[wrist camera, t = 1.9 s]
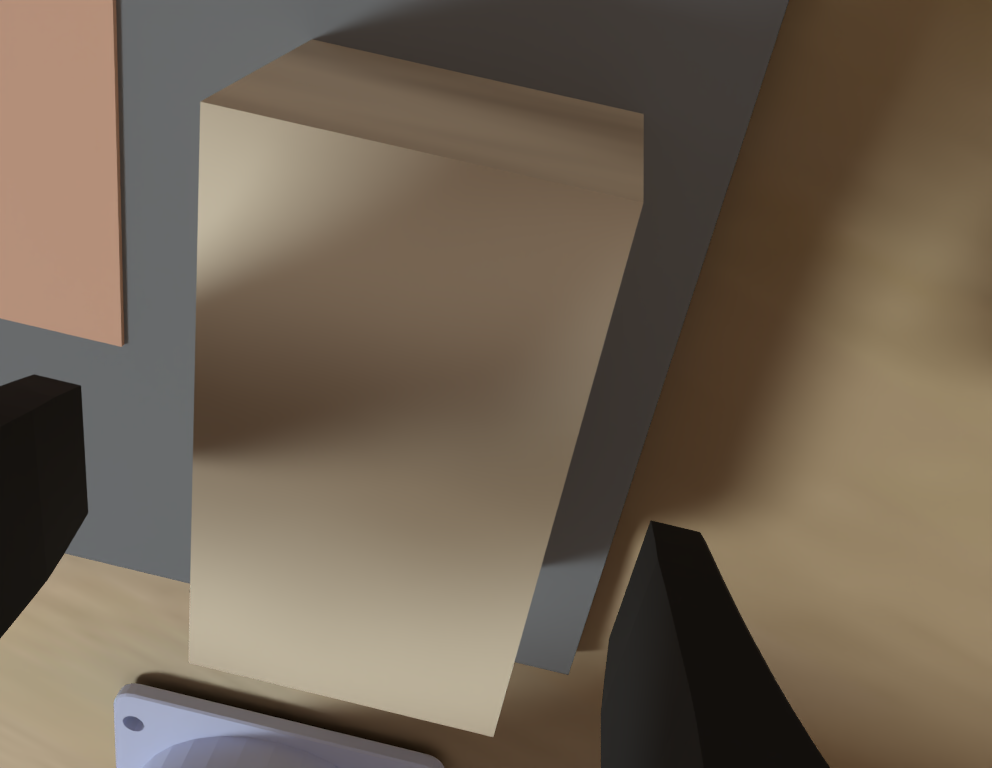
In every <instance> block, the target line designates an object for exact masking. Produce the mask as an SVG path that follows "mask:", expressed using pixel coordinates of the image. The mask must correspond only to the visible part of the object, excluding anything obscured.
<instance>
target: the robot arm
mask: <svg viewBox="0 0 992 768" xmlns="http://www.w3.org/2000/svg"><path fill="white" fill-rule="evenodd" d="M87 515H88V498H87V480H86V463H85V445H84V427H83V410H82V392H81V385H77V384H73V383H69V382H64V381H60V380H56V379H52V378H48V377H43V376H39V375H35V374H34V375H31V376H27V377H24V378H21V379H18V380H15V381H13V382H10V383H7V384H4V385H2V386H0V638H1V637H2V636H3V634H4V633H5V632H6V631H7V630H8V628H9V627H10V626H11V625H12V623H13V622H14V621H15V620H16V618H17V617H18V616H19V615H20V614H21V612H22V611H23V610H24V609H25V607H26V606H27V605H28V604H29V602H30V601H31V600H32V599H33V597H34V596H35V595H36V594H37V592H38V591H39V590H40V589H41V587H42V586H43V585H44V584H45V582H46V581H47V580H48V578H49V577H50V575H51V574H52V572H53V570H54V569H55V567H56V566H57V564H58V563H59V561H60V559H61V558H62V556H63V555H64V553H65V552H66V550H67V548H68V547H69V545H70V543H71V542H72V540H73V538H74V537H75V535H76V533H77V531H78V530H79V528H80V526H81V525H82V523H83V521H84V520H85V518H86V516H87ZM114 723H115V748H116V768H444V766H443V764H442V763H441V762H440V761H439V760H438V759H437V758H435V757H433V756H431V755H428V754H425V753H421V752H416V751H412V750H408V749H404V748H400V747H396V746H392V745H388V744H384V743H380V742H376V741H372V740H367V739H363V738H359V737H355V736H351V735H347V734H343V733H339V732H335V731H331V730H327V729H322V728H318V727H314V726H310V725H306V724H302V723H298V722H294V721H290V720H286V719H282V718H278V717H273V716H269V715H265V714H261V713H257V712H253V711H249V710H245V709H241V708H237V707H233V706H228V705H224V704H220V703H216V702H212V701H208V700H204V699H200V698H196V697H192V696H188V695H184V694H179V693H175V692H171V691H167V690H163V689H159V688H155V687H151V686H147V685H143V684H136V683H132V684H127V685H125V686H124V687H122V688H121V690H120V691H119V693H118V694H117V696H116V698H115V700H114ZM601 768H830V767H829V766H828V764H827V763H826V761H825V760H824V758H823V757H822V755H821V754H820V752H819V751H818V749H817V748H816V746H815V744H814V743H813V741H812V740H811V738H810V736H809V735H808V733H807V732H806V730H805V728H804V727H803V725H802V724H801V722H800V720H799V719H798V717H797V716H796V714H795V712H794V711H793V709H792V707H791V706H790V704H789V702H788V701H787V699H786V697H785V696H784V694H783V692H782V690H781V689H780V687H779V685H778V684H777V682H776V680H775V678H774V676H773V675H772V673H771V671H770V669H769V667H768V665H767V664H766V662H765V660H764V658H763V656H762V655H761V653H760V651H759V649H758V647H757V645H756V644H755V642H754V640H753V638H752V636H751V634H750V632H749V630H748V628H747V627H746V625H745V623H744V621H743V619H742V617H741V615H740V613H739V611H738V609H737V607H736V605H735V603H734V601H733V599H732V597H731V595H730V593H729V590H728V588H727V586H726V584H725V582H724V580H723V578H722V576H721V574H720V571H719V569H718V567H717V565H716V563H715V561H714V559H713V556H712V554H711V552H710V550H709V548H708V546H707V544H706V541H705V540H704V538H703V536H702V535H701V533H700V532H697V531H693V530H689V529H684V528H680V527H676V526H672V525H668V524H663V523H659V522H655V521H650V524H649V527H648V530H647V532H646V535H645V538H644V541H643V544H642V547H641V550H640V552H639V555H638V558H637V561H636V564H635V567H634V569H633V572H632V575H631V578H630V581H629V584H628V586H627V589H626V592H625V595H624V598H623V601H622V604H621V606H620V609H619V612H618V615H617V618H616V621H615V623H614V626H613V629H612V632H611V635H610V638H609V645H608V653H607V662H606V670H605V679H604V689H603V699H602V708H601Z"/></svg>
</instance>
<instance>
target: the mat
mask: <svg viewBox="0 0 992 768" xmlns="http://www.w3.org/2000/svg"><path fill="white" fill-rule="evenodd" d="M788 2H789V0H0V386H2V385H4V384H7V383H10V382H13V381H15V380H18V379H21V378H24V377H27V376H31V375H34V374H35V375H39V376H43V377H48V378H52V379H56V380H60V381H64V382H69V383H73V384H77V385H81V392H82V410H83V427H84V445H85V463H86V480H87V498H88V515H87V516H86V518H85V520H84V521H83V523H82V525H81V526H80V528H79V530H78V531H77V533H76V535H75V537H74V538H73V540H72V542H71V543H70V545H69V547H68V548H67V550H66V552H65V553H66V554H70V555H74V556H78V557H82V558H86V559H90V560H95V561H99V562H103V563H107V564H111V565H115V566H119V567H124V568H128V569H132V570H136V571H140V572H144V573H148V574H153V575H157V576H161V577H165V578H169V579H173V580H177V581H182V582H186V583H190V568H191V520H192V473H193V425H194V378H195V330H196V283H197V235H198V188H199V140H200V101H202V100H204V99H206V98H208V97H209V96H211V95H213V94H215V93H217V92H218V91H220V90H222V89H224V88H226V87H227V86H229V85H231V84H233V83H235V82H236V81H238V80H240V79H242V78H243V77H245V76H247V75H249V74H251V73H252V72H254V71H256V70H258V69H260V68H261V67H263V66H265V65H267V64H269V63H270V62H272V61H274V60H276V59H278V58H279V57H281V56H283V55H285V54H287V53H288V52H290V51H292V50H294V49H295V48H297V47H299V46H301V45H303V44H304V43H306V42H308V41H310V40H312V39H313V40H317V41H322V42H326V43H331V44H335V45H340V46H344V47H348V48H353V49H357V50H362V51H366V52H371V53H375V54H380V55H384V56H388V57H393V58H397V59H402V60H406V61H411V62H415V63H419V64H424V65H428V66H433V67H437V68H442V69H446V70H451V71H455V72H459V73H464V74H468V75H473V76H477V77H482V78H486V79H491V80H495V81H499V82H504V83H508V84H513V85H517V86H522V87H526V88H530V89H535V90H539V91H544V92H548V93H553V94H557V95H562V96H566V97H570V98H575V99H579V100H584V101H588V102H593V103H597V104H602V105H606V106H610V107H615V108H619V109H624V110H628V111H633V112H637V113H641V114H644V194H643V206H642V210H641V213H640V217H639V220H638V224H637V227H636V231H635V234H634V238H633V242H632V245H631V249H630V252H629V256H628V259H627V263H626V267H625V270H624V274H623V277H622V281H621V284H620V288H619V291H618V295H617V299H616V302H615V306H614V309H613V313H612V316H611V320H610V323H609V327H608V331H607V334H606V338H605V341H604V345H603V348H602V352H601V356H600V359H599V363H598V366H597V370H596V373H595V377H594V380H593V384H592V388H591V391H590V395H589V398H588V402H587V405H586V409H585V412H584V416H583V420H582V423H581V427H580V430H579V434H578V437H577V441H576V445H575V448H574V452H573V455H572V459H571V462H570V466H569V469H568V473H567V477H566V480H565V484H564V487H563V491H562V494H561V498H560V502H559V505H558V509H557V512H556V516H555V519H554V523H553V526H552V530H551V534H550V537H549V541H548V544H547V548H546V551H545V555H544V558H543V562H542V566H541V569H540V573H539V576H538V580H537V583H536V587H535V591H534V594H533V598H532V601H531V605H530V608H529V612H528V615H527V619H526V623H525V626H524V630H523V633H522V637H521V640H520V644H519V647H518V651H517V655H516V658H515V662H517V663H521V664H525V665H529V666H534V667H538V668H542V669H546V670H550V671H554V672H558V673H563V674H567V675H568V674H569V671H570V668H571V665H572V662H573V659H574V656H575V653H576V650H577V647H578V644H579V641H580V638H581V635H582V632H583V629H584V625H585V622H586V619H587V616H588V613H589V610H590V607H591V604H592V601H593V598H594V595H595V592H596V589H597V586H598V583H599V580H600V577H601V573H602V570H603V567H604V564H605V561H606V558H607V555H608V552H609V549H610V546H611V543H612V540H613V537H614V534H615V531H616V528H617V525H618V522H619V518H620V515H621V512H622V509H623V506H624V503H625V500H626V497H627V494H628V491H629V488H630V485H631V482H632V479H633V476H634V473H635V470H636V467H637V463H638V460H639V457H640V454H641V451H642V448H643V445H644V442H645V439H646V436H647V433H648V430H649V427H650V424H651V421H652V418H653V415H654V411H655V408H656V405H657V402H658V399H659V396H660V393H661V390H662V387H663V384H664V381H665V378H666V375H667V372H668V369H669V366H670V363H671V360H672V356H673V353H674V350H675V347H676V344H677V341H678V338H679V335H680V332H681V329H682V326H683V323H684V320H685V317H686V314H687V311H688V308H689V305H690V301H691V298H692V295H693V292H694V289H695V286H696V283H697V280H698V277H699V274H700V271H701V268H702V265H703V262H704V259H705V256H706V253H707V250H708V246H709V243H710V240H711V237H712V234H713V231H714V228H715V225H716V222H717V219H718V216H719V213H720V210H721V207H722V204H723V201H724V198H725V194H726V191H727V188H728V185H729V182H730V179H731V176H732V173H733V170H734V167H735V164H736V161H737V158H738V155H739V152H740V149H741V146H742V143H743V139H744V136H745V133H746V130H747V127H748V124H749V121H750V118H751V115H752V112H753V109H754V106H755V103H756V100H757V97H758V94H759V91H760V88H761V84H762V81H763V78H764V75H765V72H766V69H767V66H768V63H769V60H770V57H771V54H772V51H773V48H774V45H775V42H776V39H777V36H778V32H779V29H780V26H781V23H782V20H783V17H784V14H785V11H786V8H787V5H788Z"/></svg>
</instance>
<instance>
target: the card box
mask: <svg viewBox="0 0 992 768" xmlns="http://www.w3.org/2000/svg"><path fill="white" fill-rule="evenodd" d="M643 194H644V114H641V113H637V112H633V111H628V110H624V109H619V108H615V107H610V106H606V105H602V104H597V103H593V102H588V101H584V100H579V99H575V98H570V97H566V96H562V95H557V94H553V93H548V92H544V91H539V90H535V89H530V88H526V87H522V86H517V85H513V84H508V83H504V82H499V81H495V80H491V79H486V78H482V77H477V76H473V75H468V74H464V73H459V72H455V71H451V70H446V69H442V68H437V67H433V66H428V65H424V64H419V63H415V62H411V61H406V60H402V59H397V58H393V57H388V56H384V55H380V54H375V53H371V52H366V51H362V50H357V49H353V48H348V47H344V46H340V45H335V44H331V43H326V42H322V41H317V40H313V39H312V40H310V41H308V42H306V43H304V44H303V45H301V46H299V47H297V48H295V49H294V50H292V51H290V52H288V53H287V54H285V55H283V56H281V57H279V58H278V59H276V60H274V61H272V62H270V63H269V64H267V65H265V66H263V67H261V68H260V69H258V70H256V71H254V72H252V73H251V74H249V75H247V76H245V77H243V78H242V79H240V80H238V81H236V82H235V83H233V84H231V85H229V86H227V87H226V88H224V89H222V90H220V91H218V92H217V93H215V94H213V95H211V96H209V97H208V98H206V99H204V100H202V101H200V140H199V188H198V235H197V283H196V330H195V378H194V425H193V473H192V520H191V568H190V615H189V663H191V664H195V665H199V666H203V667H207V668H212V669H216V670H220V671H224V672H228V673H232V674H236V675H240V676H244V677H248V678H253V679H257V680H261V681H265V682H269V683H273V684H277V685H281V686H285V687H289V688H294V689H298V690H302V691H306V692H310V693H314V694H318V695H322V696H326V697H330V698H335V699H339V700H343V701H347V702H351V703H355V704H359V705H363V706H367V707H371V708H376V709H380V710H384V711H388V712H392V713H396V714H400V715H404V716H408V717H413V718H417V719H421V720H425V721H429V722H433V723H437V724H441V725H445V726H449V727H454V728H458V729H462V730H466V731H470V732H474V733H478V734H482V735H486V736H490V737H494V733H495V729H496V726H497V722H498V719H499V715H500V712H501V708H502V704H503V701H504V697H505V694H506V690H507V687H508V683H509V680H510V676H511V672H512V669H513V665H514V662H515V658H516V655H517V651H518V647H519V644H520V640H521V637H522V633H523V630H524V626H525V623H526V619H527V615H528V612H529V608H530V605H531V601H532V598H533V594H534V591H535V587H536V583H537V580H538V576H539V573H540V569H541V566H542V562H543V558H544V555H545V551H546V548H547V544H548V541H549V537H550V534H551V530H552V526H553V523H554V519H555V516H556V512H557V509H558V505H559V502H560V498H561V494H562V491H563V487H564V484H565V480H566V477H567V473H568V469H569V466H570V462H571V459H572V455H573V452H574V448H575V445H576V441H577V437H578V434H579V430H580V427H581V423H582V420H583V416H584V412H585V409H586V405H587V402H588V398H589V395H590V391H591V388H592V384H593V380H594V377H595V373H596V370H597V366H598V363H599V359H600V356H601V352H602V348H603V345H604V341H605V338H606V334H607V331H608V327H609V323H610V320H611V316H612V313H613V309H614V306H615V302H616V299H617V295H618V291H619V288H620V284H621V281H622V277H623V274H624V270H625V267H626V263H627V259H628V256H629V252H630V249H631V245H632V242H633V238H634V234H635V231H636V227H637V224H638V220H639V217H640V213H641V210H642V206H643Z"/></svg>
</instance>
